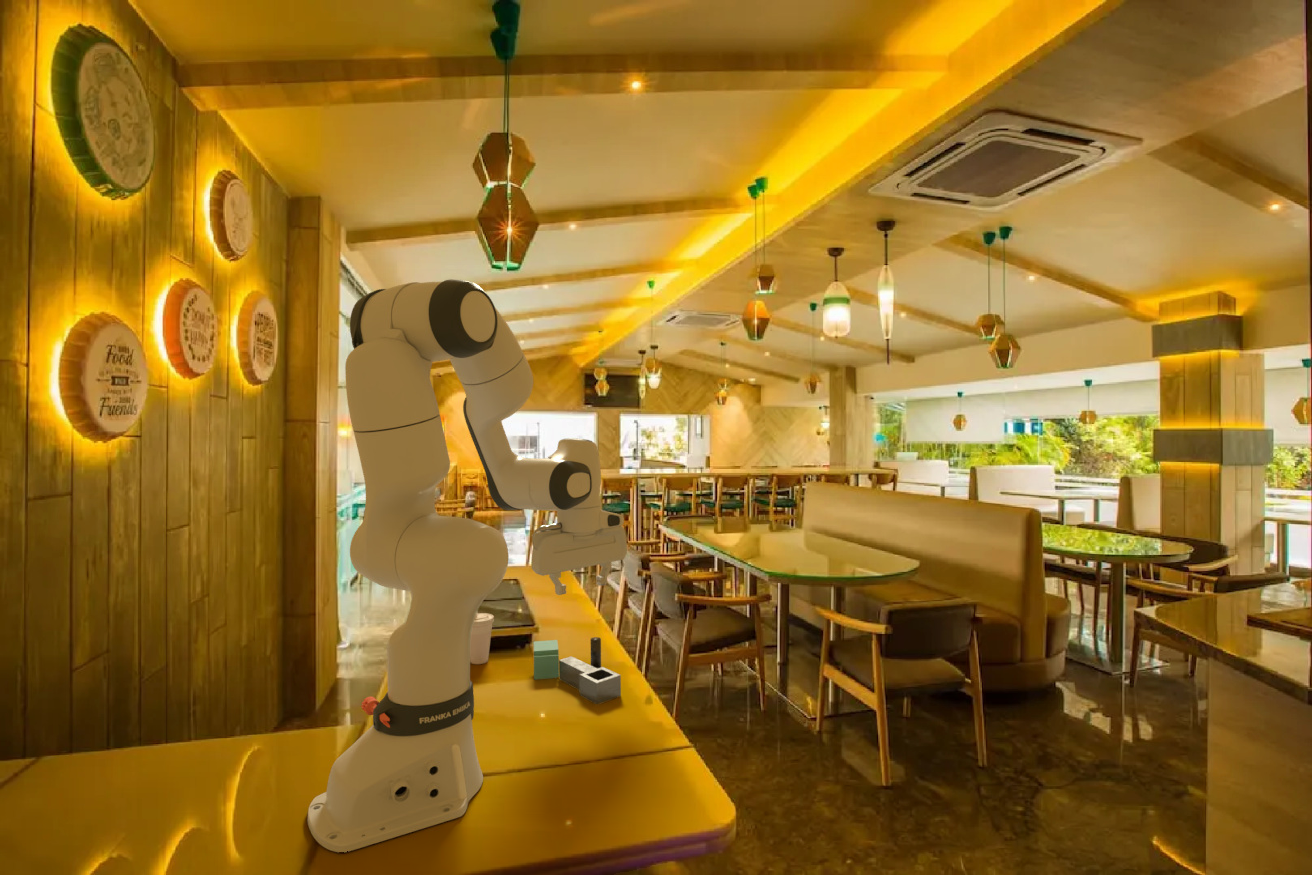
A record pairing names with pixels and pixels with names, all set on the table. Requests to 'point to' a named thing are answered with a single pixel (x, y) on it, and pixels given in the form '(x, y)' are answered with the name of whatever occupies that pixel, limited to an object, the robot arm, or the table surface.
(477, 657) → the smoothie
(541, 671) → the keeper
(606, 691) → the link
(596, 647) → the pintle
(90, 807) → the table surface
